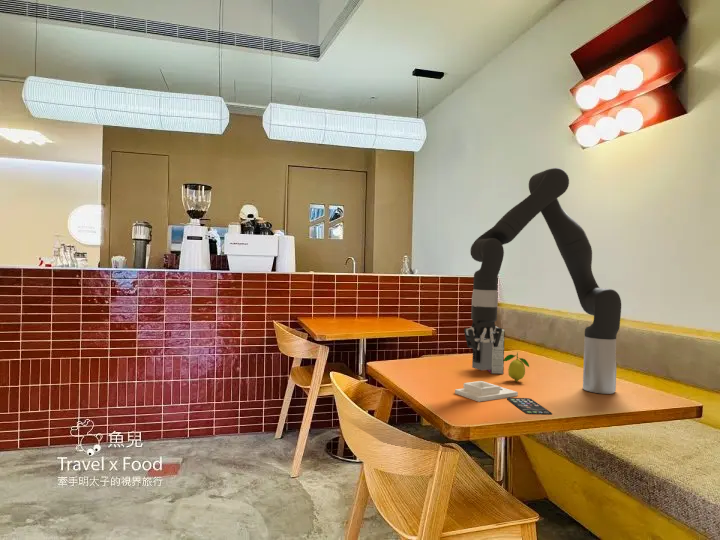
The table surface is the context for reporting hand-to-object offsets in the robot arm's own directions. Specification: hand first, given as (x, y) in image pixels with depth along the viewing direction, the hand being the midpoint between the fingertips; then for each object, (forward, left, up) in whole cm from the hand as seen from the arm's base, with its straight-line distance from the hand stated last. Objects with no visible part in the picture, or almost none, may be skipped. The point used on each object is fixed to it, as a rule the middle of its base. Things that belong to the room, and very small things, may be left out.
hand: (482, 361), depth 142 cm
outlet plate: (-2, 0, -10) cm, 10 cm away
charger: (0, 0, -2) cm, 2 cm away
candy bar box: (-31, -25, -10) cm, 41 cm away
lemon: (-25, -9, -10) cm, 29 cm away
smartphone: (-4, +14, -11) cm, 18 cm away
